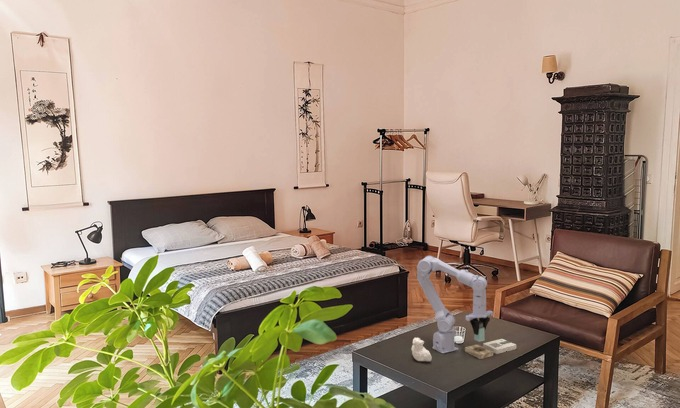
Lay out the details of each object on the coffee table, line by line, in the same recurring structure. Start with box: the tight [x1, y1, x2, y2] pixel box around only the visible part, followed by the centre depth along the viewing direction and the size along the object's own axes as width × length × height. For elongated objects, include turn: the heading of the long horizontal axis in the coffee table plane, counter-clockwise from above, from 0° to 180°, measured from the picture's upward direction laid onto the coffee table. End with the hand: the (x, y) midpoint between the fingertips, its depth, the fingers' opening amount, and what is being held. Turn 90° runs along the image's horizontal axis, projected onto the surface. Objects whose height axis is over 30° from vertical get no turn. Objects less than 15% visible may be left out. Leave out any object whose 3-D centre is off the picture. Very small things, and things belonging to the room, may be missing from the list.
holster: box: [464, 343, 494, 360], centre depth 238 cm, size 8×10×2 cm
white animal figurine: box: [410, 337, 432, 362], centre depth 232 cm, size 12×8×11 cm
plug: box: [473, 322, 486, 343], centre depth 237 cm, size 3×3×8 cm
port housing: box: [482, 338, 517, 355], centre depth 244 cm, size 12×9×2 cm
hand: (479, 333), depth 237 cm, fingers closed on plug, 3 cm apart
